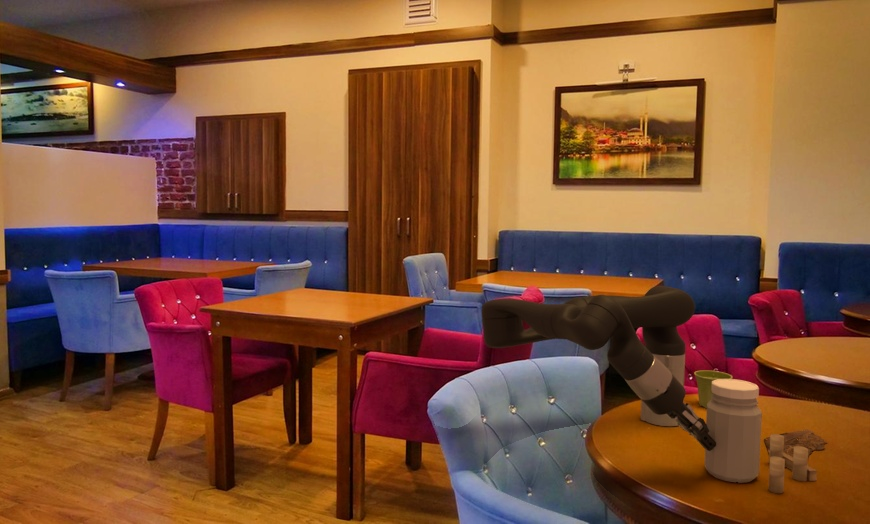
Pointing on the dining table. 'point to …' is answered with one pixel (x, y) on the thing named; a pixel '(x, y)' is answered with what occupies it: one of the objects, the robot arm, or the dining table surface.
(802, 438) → the wooden fragment
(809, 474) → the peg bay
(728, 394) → the jar
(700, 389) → the plant pot
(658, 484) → the dining table surface
